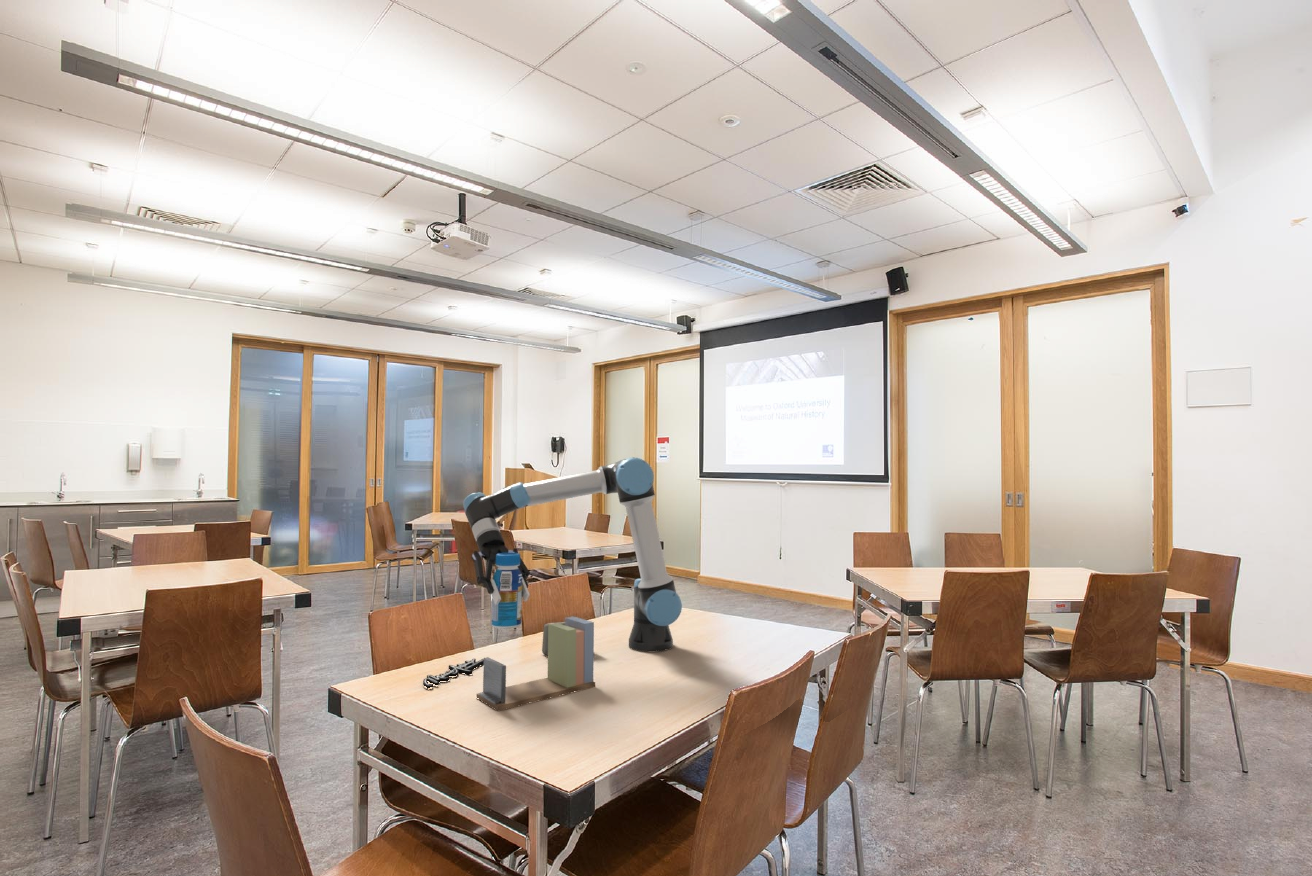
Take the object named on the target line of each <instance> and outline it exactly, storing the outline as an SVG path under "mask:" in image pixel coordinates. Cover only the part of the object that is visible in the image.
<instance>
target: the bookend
mask: <svg viewBox="0 0 1312 876" xmlns="http://www.w3.org/2000/svg"><path fill="white" fill-rule="evenodd" d="M483 659H484V664H483V676H482V677H483V679H482V680H483V681H482V683H483V684H482V693H481V692H478V693H479V695H480V696H482V697H483V698H485V699H487V700H488V701H490V702H492V703H494V704H499V703H500V704H502V703H505V697H506V687H507V685H506V684H507V665H505V664H504V663H500V662H499V661H497V660H495V659H493V658H490V657H489V656H487V657H483Z"/></svg>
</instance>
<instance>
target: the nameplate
mask: <svg viewBox="0 0 1312 876" xmlns="http://www.w3.org/2000/svg"><path fill="white" fill-rule="evenodd" d="M480 665H482V666H484V658H482V659H479V660H478V661H476V658H472V659H471V660H465V661H464V663H457V664H456V665H452V664H449V665H448V670H447V671H445V672H444V673H439V675H438V674H437V675H432V674H427V675H426V677H425V678H423V680H422V681H423V682H422V686H423V685H424V686H426V687H427V688H430V687H433V688H434V686H433V684H435V685H438V684H439V682H440V681H448V680H449V679H450V680H451V678H450V677H449V676H456V675H458V676H459V674H460V673H465V674H472V675H473V671H474V670H475V669H474V668H476V667H478V668H480V667H481V666H480ZM479 666H480V667H479ZM449 669H450V670H451V671H450V670H449ZM473 669H474V670H473ZM476 669H477V668H476ZM458 672H459V673H458ZM427 681H429V682H430V683H433V684H428V682H427ZM440 683H441V682H440ZM439 685H440V684H439Z"/></svg>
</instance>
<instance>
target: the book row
mask: <svg viewBox="0 0 1312 876" xmlns="http://www.w3.org/2000/svg"><path fill="white" fill-rule="evenodd" d="M564 622H565V625H562V624H559V623H560V622H551V623H552V624H548V623H547V624H548V655H547V678H548V679H549V680H551V681H553V682H555V683H558V684H560V685H562V686H564V687H566V688H568V687H572V686H576V685H580V684H585V683H589V682H594V662H595V661H594V658H595V657H594V655H595V654H594V653H595V652H594V651H595V650H594V646H595V645H594V643H595V642H594V641H595V639H594V638H595V631H594V630H595V623H594V621H591V620H588V619H584V618H580V617H577V616H567V617H565V618H564Z"/></svg>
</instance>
